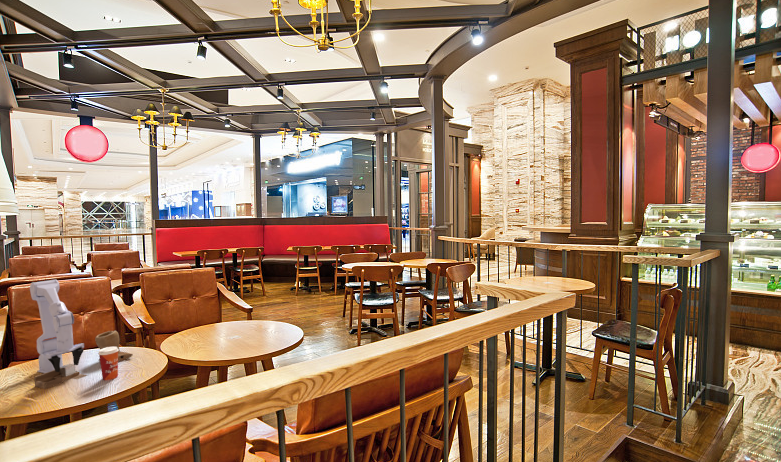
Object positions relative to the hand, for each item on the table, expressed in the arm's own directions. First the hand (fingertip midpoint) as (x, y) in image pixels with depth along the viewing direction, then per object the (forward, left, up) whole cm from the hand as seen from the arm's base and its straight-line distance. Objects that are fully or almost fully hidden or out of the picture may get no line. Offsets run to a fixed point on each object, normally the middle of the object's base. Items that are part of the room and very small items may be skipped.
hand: (67, 368), depth 179 cm
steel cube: (0, 0, -3) cm, 3 cm away
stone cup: (-2, +22, -5) cm, 23 cm away
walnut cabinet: (+2, -3, -5) cm, 6 cm away
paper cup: (+20, +6, -5) cm, 22 cm away
